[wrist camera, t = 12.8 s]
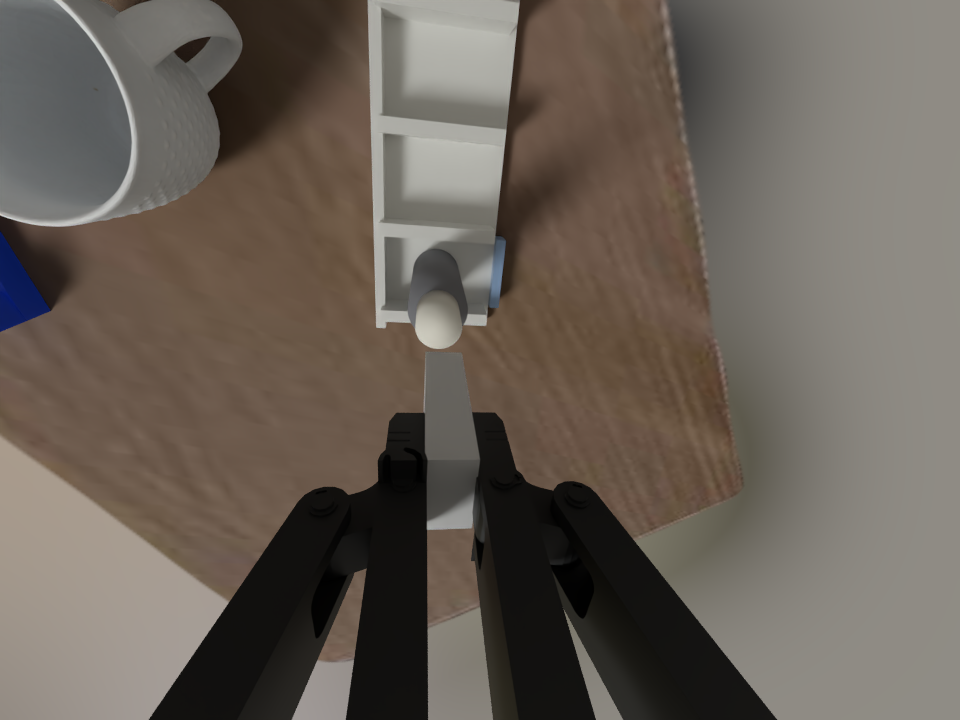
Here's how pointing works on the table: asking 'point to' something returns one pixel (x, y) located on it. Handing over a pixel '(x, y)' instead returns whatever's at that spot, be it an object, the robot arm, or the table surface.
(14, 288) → the bracket
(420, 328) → the two-tone capped cylinder
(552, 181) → the table surface
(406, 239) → the white compartment tray
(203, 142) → the mug
